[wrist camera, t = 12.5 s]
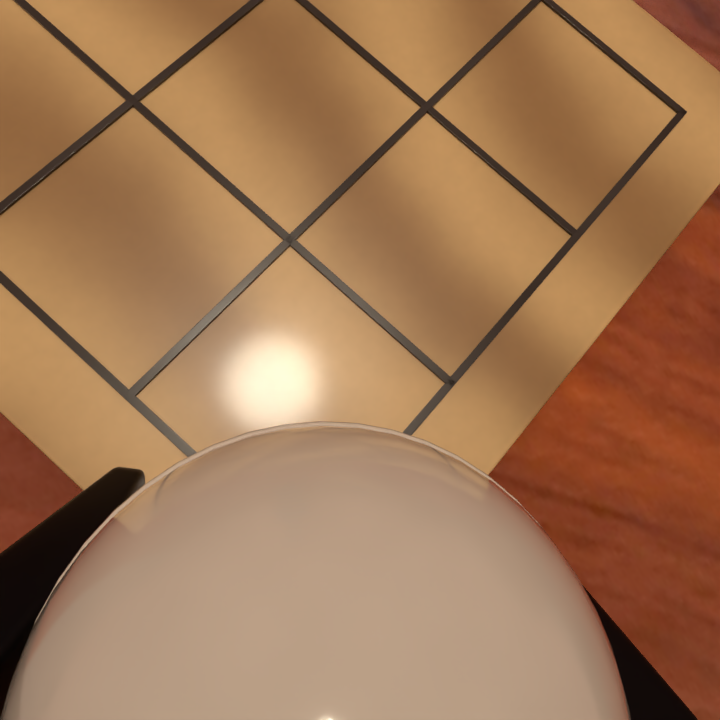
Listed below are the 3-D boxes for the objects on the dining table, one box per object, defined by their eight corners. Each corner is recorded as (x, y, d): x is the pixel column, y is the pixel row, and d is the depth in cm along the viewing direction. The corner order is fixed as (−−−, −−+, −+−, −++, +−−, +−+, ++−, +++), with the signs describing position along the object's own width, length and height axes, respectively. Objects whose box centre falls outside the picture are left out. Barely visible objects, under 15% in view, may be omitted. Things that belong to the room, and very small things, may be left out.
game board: (307, 719, 15) (309, 736, 14) (-319, 125, 17) (-362, 100, 16) (762, 141, 21) (788, 122, 20) (269, -265, 23) (268, -303, 22)
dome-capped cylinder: (394, 653, 15) (962, 1543, 2) (203, 666, 14) (-411, 1927, 2) (387, 464, 16) (755, 375, 3) (209, 469, 15) (-158, 380, 3)
